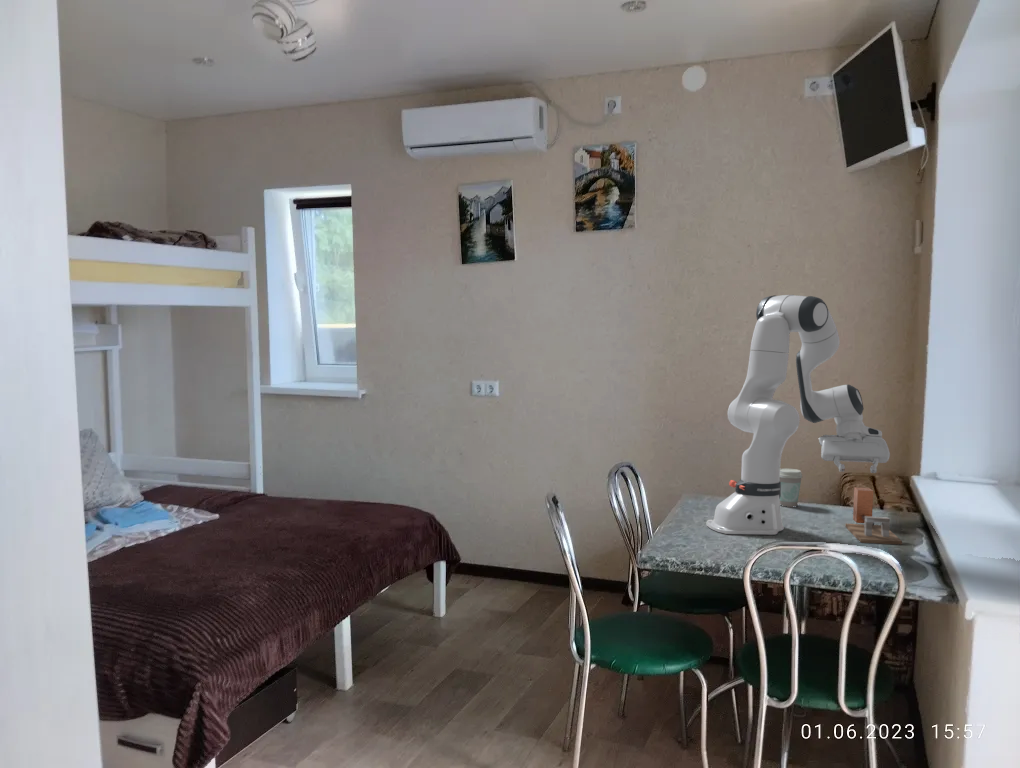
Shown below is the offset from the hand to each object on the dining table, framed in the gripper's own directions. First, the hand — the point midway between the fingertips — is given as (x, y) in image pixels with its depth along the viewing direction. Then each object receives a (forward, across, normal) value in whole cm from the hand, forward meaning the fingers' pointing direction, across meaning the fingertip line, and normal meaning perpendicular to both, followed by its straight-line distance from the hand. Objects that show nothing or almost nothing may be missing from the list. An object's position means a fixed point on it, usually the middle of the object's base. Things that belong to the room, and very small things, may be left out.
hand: (857, 471), depth 257 cm
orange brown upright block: (+18, 0, +1) cm, 19 cm away
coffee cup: (0, -18, +22) cm, 29 cm away
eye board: (+25, 0, -3) cm, 25 cm away
